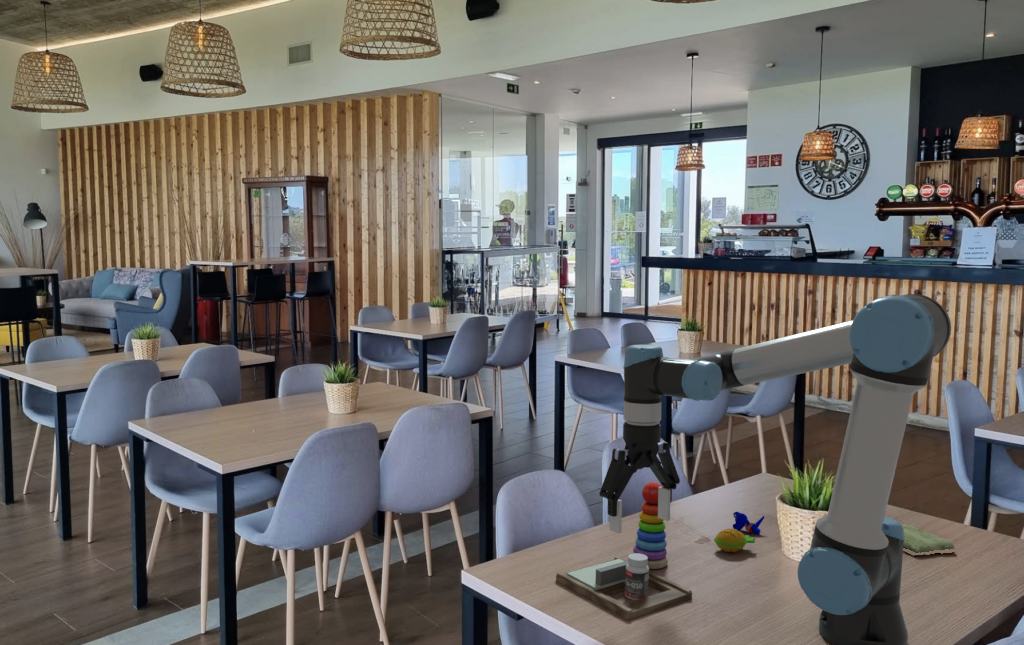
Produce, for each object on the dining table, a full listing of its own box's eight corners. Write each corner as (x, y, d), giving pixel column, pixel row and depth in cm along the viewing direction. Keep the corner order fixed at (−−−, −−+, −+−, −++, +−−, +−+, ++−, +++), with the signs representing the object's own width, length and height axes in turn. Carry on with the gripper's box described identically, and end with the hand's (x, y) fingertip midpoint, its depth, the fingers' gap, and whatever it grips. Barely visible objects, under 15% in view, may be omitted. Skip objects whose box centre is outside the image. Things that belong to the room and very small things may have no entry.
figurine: (733, 527, 211) (734, 508, 211) (763, 532, 208) (764, 513, 208) (729, 532, 207) (730, 513, 207) (760, 537, 204) (761, 519, 203)
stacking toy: (667, 572, 180) (670, 489, 179) (631, 568, 182) (633, 486, 180) (667, 559, 188) (671, 479, 186) (633, 555, 190) (635, 476, 188)
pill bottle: (621, 597, 166) (622, 558, 166) (629, 589, 171) (630, 550, 170) (643, 603, 164) (645, 562, 163) (650, 594, 168) (652, 555, 168)
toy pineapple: (707, 548, 196) (708, 526, 195) (742, 543, 199) (743, 522, 199) (724, 558, 189) (725, 535, 189) (760, 553, 193) (761, 531, 192)
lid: (647, 574, 175) (648, 558, 175) (594, 590, 166) (595, 573, 166) (618, 561, 182) (619, 545, 182) (566, 575, 174) (567, 559, 173)
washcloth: (905, 531, 212) (906, 518, 212) (958, 556, 195) (959, 542, 195) (862, 534, 209) (863, 521, 209) (912, 559, 192) (913, 546, 192)
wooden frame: (691, 598, 167) (692, 590, 167) (627, 619, 156) (627, 611, 156) (618, 563, 185) (618, 556, 185) (555, 580, 174) (556, 573, 174)
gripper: (671, 412, 174) (669, 509, 176) (582, 425, 160) (581, 531, 162) (698, 418, 168) (696, 518, 170) (608, 432, 154) (606, 542, 155)
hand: (640, 525), depth 166 cm, fingers open, 13 cm apart
